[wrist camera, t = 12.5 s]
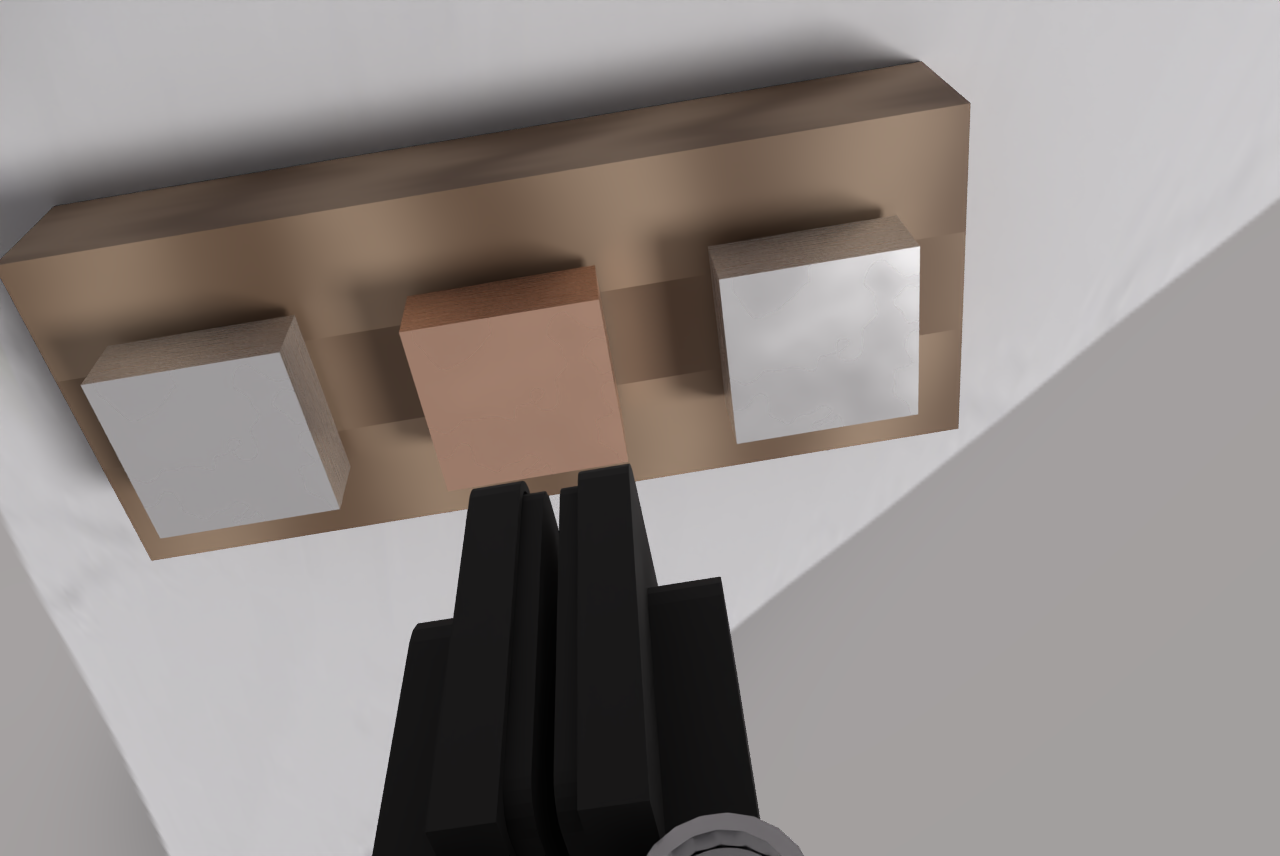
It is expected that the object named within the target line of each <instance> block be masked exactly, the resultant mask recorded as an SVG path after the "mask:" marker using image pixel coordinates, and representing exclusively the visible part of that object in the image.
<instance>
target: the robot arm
mask: <svg viewBox="0 0 1280 856" xmlns="http://www.w3.org/2000/svg"><path fill="white" fill-rule="evenodd" d="M372 856H804V855H803V853H802V852H801V850H800V848H799V846H798V845H796V844H795V843H794V842H793V841H792V840H791V839H790V838H789V837H788V836H787V835H785V833H783V832H782V831H781V830H780V829H779V828H777V827H775V826H773V825H771V824H769V823H767V822H765V821H762V820H760V815H759V809H758V803H757V796H756V790H755V784H754V777H753V771H752V765H751V758H750V752H749V746H748V740H747V733H746V727H745V721H744V714H743V709H742V702H741V696H740V690H739V683H738V677H737V671H736V665H735V659H734V652H733V646H732V640H731V634H730V628H729V622H728V616H727V610H726V605H725V599H724V593H723V587H722V581H721V577H715V578H708V579H702V580H696V581H689V582H683V583H676V584H670V585H663V586H658V584H657V580H656V575H655V570H654V566H653V561H652V557H651V552H650V548H649V543H648V539H647V534H646V529H645V525H644V520H643V516H642V511H641V507H640V502H639V497H638V493H637V488H636V484H635V479H634V475H633V471H632V468H631V465H630V463H629V464H623V465H617V466H610V467H604V468H598V469H592V470H586V471H580V472H579V473H578V486H573V487H567V488H561V490H560V512H559V530H558V526H557V523H556V519H555V515H554V512H553V508H552V505H551V501H550V498H549V496H548V494H547V492H546V491H542V492H536V493H530V491H529V488H528V486H527V484H526V482H524V481H518V482H512V483H506V484H500V485H493V486H487V487H481V488H475V489H473V490H472V491H471V493H470V497H469V504H468V512H467V519H466V527H465V534H464V542H463V549H462V557H461V564H460V572H459V579H458V587H457V594H456V602H455V609H454V617H453V618H451V619H444V620H438V621H431V622H425V623H418V624H417V625H416V627H415V628H414V629H413V632H412V635H411V639H410V643H409V648H408V654H407V660H406V665H405V671H404V677H403V682H402V688H401V694H400V699H399V705H398V711H397V717H396V722H395V728H394V734H393V739H392V745H391V751H390V757H389V762H388V768H387V774H386V779H385V785H384V791H383V797H382V802H381V808H380V814H379V819H378V825H377V831H376V837H375V842H374V848H373V854H372Z"/></svg>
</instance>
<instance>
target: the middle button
mask: <svg viewBox="0 0 1280 856" xmlns="http://www.w3.org/2000/svg"><path fill="white" fill-rule="evenodd" d="M399 334H400V337H401V341H402V344H403V347H404V350H405V354H406V357H407V360H408V363H409V367H410V370H411V373H412V376H413V380H414V383H415V386H416V389H417V393H418V396H419V399H420V402H421V406H422V409H423V412H424V415H425V419H426V422H427V425H428V428H429V432H430V435H431V438H432V441H433V445H434V448H435V451H436V454H437V458H438V461H439V464H440V467H441V471H442V474H443V477H444V480H445V484H446V487H447V490H448V491H453V490H459V489H465V488H472V487H478V486H484V485H490V484H496V483H502V482H508V481H514V480H520V479H526V478H533V477H539V476H545V475H551V474H557V473H563V472H569V471H575V470H581V469H587V468H593V467H600V466H606V465H612V464H618V463H624V462H628V455H627V447H626V440H625V432H624V424H623V418H622V412H621V407H620V401H619V396H618V390H617V385H616V379H615V374H614V368H613V362H612V357H611V351H610V346H609V340H608V335H607V329H606V324H605V318H604V313H603V307H602V301H601V296H600V290H599V285H598V279H597V274H596V268H595V265H593V266H587V267H580V268H574V269H568V270H562V271H556V272H550V273H544V274H538V275H532V276H526V277H520V278H514V279H508V280H502V281H496V282H490V283H484V284H478V285H472V286H466V287H460V288H454V289H448V290H442V291H436V292H430V293H424V294H418V295H412V296H407V299H406V303H405V308H404V312H403V317H402V321H401V326H400V330H399Z"/></svg>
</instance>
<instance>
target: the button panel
mask: <svg viewBox="0 0 1280 856" xmlns="http://www.w3.org/2000/svg"><path fill="white" fill-rule="evenodd" d="M969 129H970V102H968V101H967V100H966V99H965V98H964V97H963V96H961V95H960V94H959V93H958V92H957V91H956V90H954V89H953V88H952V87H951V86H950V85H949V84H947V83H946V82H945V81H944V80H943V79H942V78H940V77H939V76H938V75H937V74H936V73H935V72H933V71H932V70H931V69H930V68H929V67H928V66H926V65H925V64H924V63H923V62H922V61H921V62H915V63H909V64H903V65H897V66H891V67H885V68H879V69H873V70H867V71H861V72H855V73H849V74H843V75H837V76H831V77H825V78H819V79H813V80H807V81H801V82H795V83H789V84H783V85H777V86H771V87H765V88H759V89H753V90H747V91H741V92H735V93H729V94H723V95H717V96H712V97H706V98H700V99H694V100H688V101H682V102H676V103H670V104H664V105H658V106H652V107H646V108H640V109H634V110H628V111H622V112H616V113H610V114H604V115H598V116H592V117H586V118H580V119H574V120H568V121H562V122H556V123H550V124H544V125H538V126H532V127H526V128H520V129H514V130H508V131H502V132H496V133H490V134H484V135H478V136H472V137H466V138H460V139H454V140H448V141H442V142H436V143H430V144H424V145H418V146H412V147H406V148H400V149H394V150H388V151H382V152H376V153H370V154H364V155H358V156H352V157H346V158H340V159H334V160H328V161H322V162H316V163H310V164H304V165H298V166H292V167H286V168H280V169H274V170H268V171H262V172H256V173H250V174H244V175H238V176H232V177H226V178H220V179H214V180H208V181H202V182H196V183H190V184H184V185H178V186H172V187H166V188H160V189H154V190H148V191H142V192H137V193H131V194H125V195H119V196H113V197H107V198H101V199H95V200H89V201H83V202H77V203H71V204H65V205H59V206H54V207H53V208H52V209H51V210H50V211H49V212H48V213H47V214H46V215H45V216H44V217H43V218H42V219H41V220H40V221H39V222H38V223H37V224H36V225H35V226H34V227H33V228H32V229H31V230H30V231H29V232H28V233H27V234H26V235H25V236H24V237H23V238H22V239H20V240H19V241H18V242H17V243H16V244H15V245H14V246H13V247H12V248H11V249H10V250H9V251H8V252H7V253H6V254H5V255H4V256H3V257H2V258H1V259H0V278H1V280H2V282H3V284H4V285H5V287H6V289H7V291H8V293H9V295H10V297H11V299H12V300H13V302H14V304H15V306H16V308H17V310H18V312H19V314H20V315H21V317H22V319H23V321H24V323H25V325H26V327H27V328H28V330H29V332H30V334H31V336H32V338H33V340H34V342H35V343H36V345H37V347H38V349H39V351H40V353H41V355H42V357H43V358H44V360H45V362H46V364H47V366H48V368H49V370H50V372H51V373H52V375H53V377H54V379H55V381H56V383H57V385H58V386H59V388H60V390H61V392H62V394H63V396H64V398H65V400H66V401H67V403H68V405H69V407H70V409H71V411H72V413H73V415H74V416H75V418H76V420H77V422H78V424H79V426H80V428H81V430H82V431H83V433H84V435H85V437H86V439H87V441H88V443H89V444H90V446H91V448H92V450H93V452H94V454H95V456H96V458H97V459H98V461H99V463H100V465H101V467H102V469H103V471H104V473H105V474H106V476H107V478H108V480H109V482H110V484H111V486H112V488H113V489H114V491H115V493H116V495H117V497H118V499H119V501H120V502H121V504H122V506H123V508H124V510H125V512H126V514H127V516H128V517H129V519H130V521H131V523H132V525H133V527H134V529H135V531H136V532H137V534H138V536H139V538H140V540H141V542H142V544H143V546H144V547H145V549H146V551H147V553H148V555H149V557H150V559H151V560H152V561H153V560H159V559H165V558H171V557H177V556H183V555H189V554H196V553H202V552H208V551H214V550H220V549H226V548H232V547H238V546H244V545H250V544H257V543H263V542H269V541H275V540H281V539H287V538H293V537H299V536H305V535H311V534H318V533H324V532H330V531H336V530H342V529H348V528H354V527H360V526H366V525H372V524H379V523H385V522H391V521H397V520H403V519H409V518H415V517H421V516H427V515H433V514H440V513H446V512H452V511H458V510H464V509H468V504H469V497H470V493H471V491H472V490H473V489H475V488H481V487H487V486H493V485H500V484H506V483H512V482H518V481H524V482H526V484H527V486H528V488H529V491H530V493H536V492H542V491H546V492H547V494H548V496H549V495H556V494H560V490H561V488H567V487H573V486H578V473H579V472H580V471H586V470H592V469H598V468H604V467H610V466H617V465H623V464H629V463H630V465H631V468H632V471H633V475H634V479H635V481H641V480H647V479H653V478H659V477H665V476H671V475H678V474H684V473H690V472H696V471H702V470H708V469H714V468H720V467H726V466H732V465H739V464H745V463H751V462H757V461H763V460H769V459H775V458H781V457H787V456H793V455H800V454H806V453H812V452H818V451H824V450H830V449H836V448H842V447H848V446H854V445H861V444H867V443H873V442H879V441H885V440H891V439H897V438H903V437H909V436H915V435H922V434H928V433H934V432H940V431H946V430H952V429H958V424H959V398H960V371H961V344H962V317H963V290H964V263H965V236H966V209H967V182H968V155H969ZM894 215H897V216H898V218H899V219H900V220H901V222H902V223H903V224H904V226H905V227H906V228H907V230H908V231H909V232H910V234H911V235H912V236H913V238H914V239H915V240H916V242H917V243H918V244H919V246H920V291H919V383H918V414H917V415H910V416H904V417H898V418H892V419H886V420H880V421H874V422H868V423H862V424H856V425H849V426H843V427H837V428H831V429H825V430H819V431H813V432H807V433H801V434H795V435H789V436H782V437H776V438H770V439H764V440H758V441H752V442H746V443H740V444H737V443H736V439H735V436H734V432H733V429H732V425H731V422H730V418H729V414H728V411H727V407H726V403H725V394H724V385H723V376H722V367H721V358H720V349H719V340H718V332H717V323H716V314H715V305H714V296H713V287H712V278H711V269H710V261H709V252H708V246H713V245H719V244H725V243H731V242H737V241H743V240H749V239H755V238H762V237H768V236H774V235H780V234H786V233H792V232H798V231H804V230H810V229H816V228H822V227H828V226H834V225H840V224H846V223H852V222H858V221H864V220H870V219H876V218H882V217H888V216H894ZM593 265H595V268H596V274H597V279H598V285H599V290H600V296H601V301H602V307H603V313H604V318H605V324H606V329H607V335H608V340H609V346H610V351H611V357H612V362H613V368H614V374H615V379H616V385H617V390H618V396H619V401H620V407H621V412H622V418H623V424H624V432H625V440H626V447H627V455H628V462H624V463H618V464H612V465H606V466H600V467H593V468H587V469H581V470H575V471H569V472H563V473H557V474H551V475H545V476H539V477H533V478H526V479H520V480H514V481H508V482H502V483H496V484H490V485H484V486H478V487H472V488H465V489H459V490H453V491H448V490H447V487H446V484H445V480H444V477H443V474H442V471H441V467H440V464H439V461H438V458H437V454H436V451H435V448H434V445H433V441H432V438H431V435H430V432H429V428H428V425H427V422H426V419H425V415H424V412H423V409H422V406H421V402H420V399H419V396H418V393H417V389H416V386H415V383H414V380H413V376H412V373H411V370H410V367H409V363H408V360H407V357H406V354H405V350H404V347H403V344H402V341H401V337H400V334H399V330H400V326H401V321H402V317H403V312H404V308H405V303H406V299H407V296H412V295H418V294H424V293H430V292H436V291H442V290H448V289H454V288H460V287H466V286H472V285H478V284H484V283H490V282H496V281H502V280H508V279H514V278H520V277H526V276H532V275H538V274H544V273H550V272H556V271H562V270H568V269H574V268H580V267H587V266H593ZM291 315H295V317H296V320H297V322H298V325H299V328H300V331H301V333H302V336H303V339H304V341H305V344H306V347H307V350H308V352H309V355H310V358H311V360H312V363H313V366H314V369H315V371H316V374H317V377H318V379H319V382H320V385H321V388H322V390H323V393H324V396H325V399H326V401H327V404H328V407H329V409H330V412H331V415H332V418H333V420H334V423H335V426H336V428H337V431H338V434H339V437H340V439H341V442H342V445H343V447H344V450H345V453H346V456H347V458H348V461H349V464H350V466H351V467H350V471H349V475H348V479H347V483H346V487H345V491H344V495H343V499H342V503H341V507H340V509H337V510H331V511H325V512H319V513H313V514H307V515H301V516H295V517H289V518H283V519H277V520H270V521H264V522H258V523H252V524H246V525H240V526H234V527H228V528H222V529H216V530H209V531H203V532H197V533H191V534H185V535H179V536H173V537H167V538H161V539H160V537H159V535H158V533H157V531H156V529H155V527H154V525H153V524H152V522H151V520H150V518H149V516H148V514H147V512H146V510H145V508H144V506H143V504H142V502H141V500H140V499H139V497H138V495H137V493H136V491H135V489H134V487H133V485H132V483H131V481H130V479H129V477H128V475H127V474H126V472H125V470H124V468H123V466H122V464H121V462H120V460H119V458H118V456H117V454H116V452H115V450H114V449H113V447H112V445H111V443H110V441H109V439H108V437H107V435H106V433H105V431H104V429H103V427H102V425H101V424H100V422H99V420H98V418H97V416H96V414H95V412H94V410H93V408H92V406H91V404H90V402H89V400H88V399H87V397H86V395H85V393H84V391H83V389H82V387H81V384H82V382H83V381H84V380H85V378H86V377H87V375H88V374H89V372H90V371H91V369H92V368H93V367H94V365H95V364H96V362H97V361H98V359H99V358H100V356H101V355H102V354H103V352H104V351H105V349H106V348H107V346H110V345H116V344H122V343H128V342H134V341H140V340H146V339H152V338H158V337H164V336H170V335H176V334H182V333H188V332H194V331H200V330H206V329H212V328H218V327H224V326H230V325H237V324H243V323H249V322H255V321H261V320H267V319H273V318H279V317H285V316H291Z"/></svg>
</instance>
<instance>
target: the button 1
mask: <svg viewBox="0 0 1280 856" xmlns="http://www.w3.org/2000/svg"><path fill="white" fill-rule="evenodd" d="M81 387H82V389H83V391H84V393H85V395H86V397H87V399H88V400H89V402H90V404H91V406H92V408H93V410H94V412H95V414H96V416H97V418H98V420H99V422H100V424H101V425H102V427H103V429H104V431H105V433H106V435H107V437H108V439H109V441H110V443H111V445H112V447H113V449H114V450H115V452H116V454H117V456H118V458H119V460H120V462H121V464H122V466H123V468H124V470H125V472H126V474H127V475H128V477H129V479H130V481H131V483H132V485H133V487H134V489H135V491H136V493H137V495H138V497H139V499H140V500H141V502H142V504H143V506H144V508H145V510H146V512H147V514H148V516H149V518H150V520H151V522H152V524H153V525H154V527H155V529H156V531H157V533H158V535H159V537H160V539H161V538H167V537H173V536H179V535H185V534H191V533H197V532H203V531H209V530H216V529H222V528H228V527H234V526H240V525H246V524H252V523H258V522H264V521H270V520H277V519H283V518H289V517H295V516H301V515H307V514H313V513H319V512H325V511H331V510H337V509H340V507H341V503H342V499H343V495H344V491H345V487H346V483H347V479H348V475H349V471H350V467H351V466H350V464H349V461H348V458H347V456H346V453H345V450H344V447H343V445H342V442H341V439H340V437H339V434H338V431H337V428H336V426H335V423H334V420H333V418H332V415H331V412H330V409H329V407H328V404H327V401H326V399H325V396H324V393H323V390H322V388H321V385H320V382H319V379H318V377H317V374H316V371H315V369H314V366H313V363H312V360H311V358H310V355H309V352H308V350H307V347H306V344H305V341H304V339H303V336H302V333H301V331H300V328H299V325H298V322H297V320H296V317H295V315H291V316H285V317H279V318H273V319H267V320H261V321H255V322H249V323H243V324H237V325H230V326H224V327H218V328H212V329H206V330H200V331H194V332H188V333H182V334H176V335H170V336H164V337H158V338H152V339H146V340H140V341H134V342H128V343H122V344H116V345H110V346H107V348H106V349H105V351H104V352H103V354H102V355H101V356H100V358H99V359H98V361H97V362H96V364H95V365H94V367H93V368H92V369H91V371H90V372H89V374H88V375H87V377H86V378H85V380H84V381H83V382H82V384H81Z"/></svg>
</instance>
